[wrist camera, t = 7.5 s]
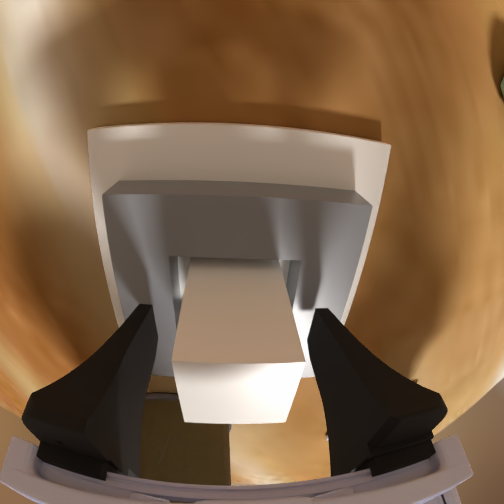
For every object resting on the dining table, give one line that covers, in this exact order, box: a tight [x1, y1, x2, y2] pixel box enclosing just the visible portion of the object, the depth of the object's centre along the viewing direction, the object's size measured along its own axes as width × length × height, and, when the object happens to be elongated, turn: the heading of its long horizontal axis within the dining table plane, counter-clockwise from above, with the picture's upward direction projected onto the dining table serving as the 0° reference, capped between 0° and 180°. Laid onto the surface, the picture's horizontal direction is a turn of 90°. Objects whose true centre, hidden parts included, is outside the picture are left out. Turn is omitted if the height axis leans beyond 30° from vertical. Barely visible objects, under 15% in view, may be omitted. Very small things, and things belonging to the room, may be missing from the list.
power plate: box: [87, 122, 391, 378], centre depth 15 cm, size 16×14×3 cm
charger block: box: [172, 257, 306, 424], centre depth 12 cm, size 4×4×7 cm
